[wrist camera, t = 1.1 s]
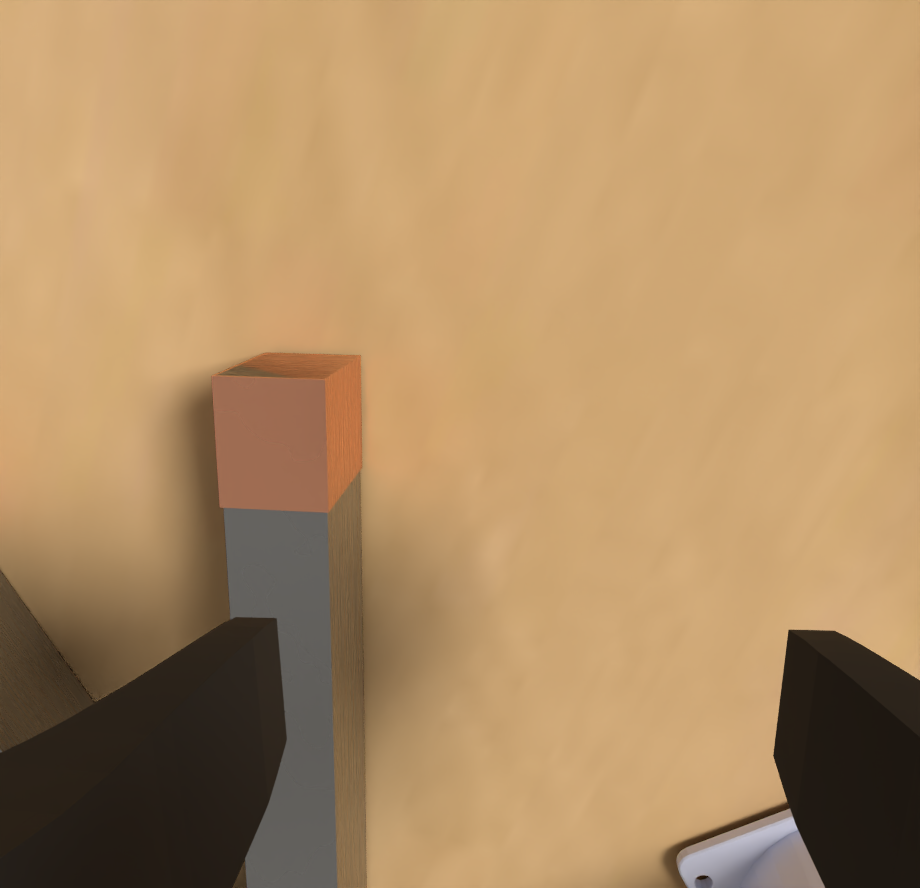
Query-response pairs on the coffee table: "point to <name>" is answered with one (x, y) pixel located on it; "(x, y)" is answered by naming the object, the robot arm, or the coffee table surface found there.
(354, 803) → the bar
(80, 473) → the coffee table surface
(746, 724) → the coffee table surface
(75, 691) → the tongs fixed arm
